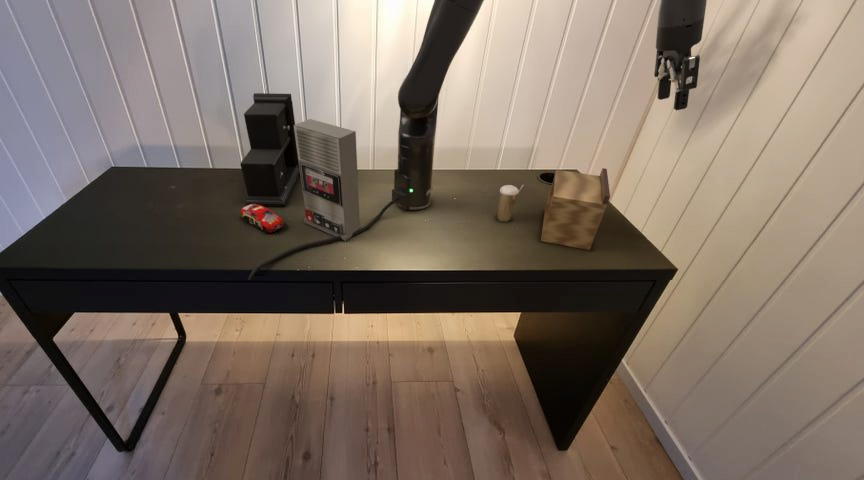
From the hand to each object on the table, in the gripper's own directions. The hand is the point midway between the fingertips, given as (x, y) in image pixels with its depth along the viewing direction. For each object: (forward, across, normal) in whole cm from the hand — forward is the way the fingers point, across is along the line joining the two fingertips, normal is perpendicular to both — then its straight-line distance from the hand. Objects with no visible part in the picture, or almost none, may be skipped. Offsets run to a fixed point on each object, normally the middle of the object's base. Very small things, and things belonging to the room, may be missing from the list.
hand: (671, 103), depth 88 cm
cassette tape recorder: (+8, +14, -80) cm, 81 cm away
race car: (+3, +14, -97) cm, 98 cm away
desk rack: (+24, +7, -24) cm, 34 cm away
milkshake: (+20, +3, -38) cm, 42 cm away
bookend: (+1, -6, -100) cm, 100 cm away
